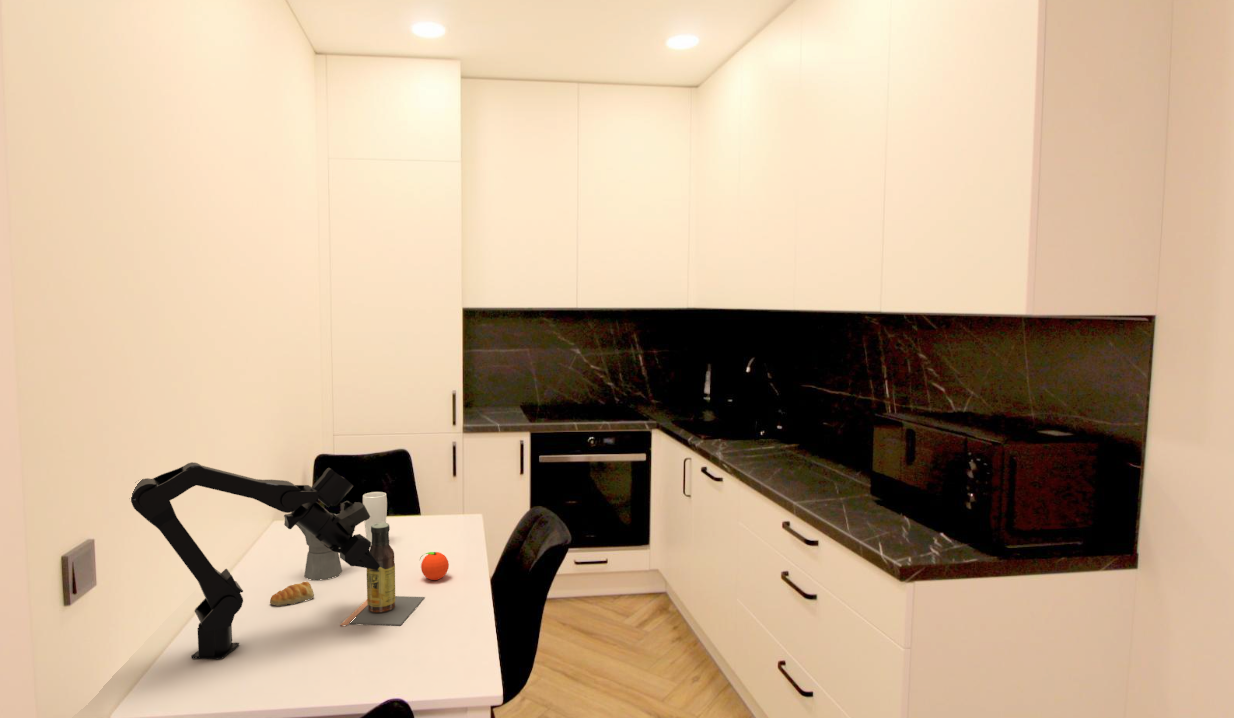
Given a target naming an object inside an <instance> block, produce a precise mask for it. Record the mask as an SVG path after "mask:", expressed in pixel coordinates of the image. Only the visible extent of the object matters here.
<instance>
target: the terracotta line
mask: <svg viewBox="0 0 1234 718" xmlns="http://www.w3.org/2000/svg"><path fill="white" fill-rule="evenodd" d="M367 606H368V603H367V599H366V600H364V602H362V603H361V604H360V605H359V606H358V607H357V608H356V609H355V610H354V611H353V612H352V613H351V614H350V615H349V616H348V617H347V618H346V619H344V621H343V622H341V623H340V625H348V624H349V623H350V622H351V621H352V620H353V619H354V618H355V617H357V616H358V615H359V614H360V613H361V612H362V611H363V610H364V609H365V608H366V607H367ZM349 625H350V624H349ZM349 625H348V626H349Z"/></svg>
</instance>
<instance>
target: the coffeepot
mask: <svg viewBox="0 0 1234 718" xmlns="http://www.w3.org/2000/svg"><path fill="white" fill-rule="evenodd" d="M322 507H323V508H325V506H322ZM325 509H326V508H325ZM333 514H334V515H335V516H337V515H338V514H339V513H337V514H336V513H333ZM294 526H297V527H298V528H299V530H300V531H301V533H302V534H303V536H304V538H305V543H306V545H307V546H308V551H307V555H306V562H305V569H304V577H305V578H306V579H307V578H308V579H307V580H309V579H311V580H310V581H321V580H320V579H327V580H329V579H328V578H331V579H333V578H332V577H334V578H336V577H335V576H337V577H338V576H340V575H341V574H342V572H343V568H342V563H341V560H340V559H341V558H340V553H337V552H334V551H332V550H331V549H329V548H327V547H326V546H325V545H323V544H322V543H321V542H320V540H318V539H317V538H316V537H314V536H313V535H312V534H311V533H309V532H308V531H307V530H305V529H304V528H303V527H301V526H300V525H299V524H297V523H296V524H295V525H294ZM352 528H353V529H354V530H355V531H356V526H355V527H352ZM355 531H354V532H355ZM354 532H353V533H352V534H351V536H352V537H353V535H354ZM340 573H341V574H340ZM339 574H340V575H339Z"/></svg>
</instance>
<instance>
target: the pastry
mask: <svg viewBox="0 0 1234 718" xmlns="http://www.w3.org/2000/svg"><path fill="white" fill-rule="evenodd" d="M311 585H312V584H311V583H310V582H308V581H302V582H301V583H294V584H290V585H288V586H287V587H285V588H284V589H282V590H279V591H278V592H276V593H274V594H273V595H271V597H270V600H269V601H270V602H269V604H271V605H272V606H273V605H274V606H277V607H282V606H281V605H284V606H288V605H287V604H293V605H295V604H294V603H296V604H298V603H297V602H301V601H305V600H308V599H311V598H314V597H315V593H314V590H313V588H312V586H311ZM311 600H312V599H311ZM308 601H309V600H308ZM305 602H306V601H305ZM301 603H302V602H301Z"/></svg>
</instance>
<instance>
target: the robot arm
mask: <svg viewBox="0 0 1234 718" xmlns="http://www.w3.org/2000/svg"><path fill="white" fill-rule="evenodd" d="M141 479H142V480H141ZM141 479H140V480H141V481H140V482H139V483H138V484H137V486H136V487H135V489H134V491H133V493H132V497H131V501H130V502H131V505H132V507H133V509H134V510H135V511H136V512H137V513H138V514H139V515H141V516H142V517H143V518H144V519H145V520H146V521H148V523H150V524H151V525H153V526H154V527H155V528H157V529H158V530H159V532H160V533H161V534H162V535H163V536H164V538H165V539H166V541H167V542H168V544H169V545H170V546H171V547H172V549H173V550H174V551H175V553H176V554H177V555H178V557H179V558H180V559H181V560H182V563H184V565H185V566H186V567H187V569H188V570H189V571H190V573H191V574H192V575H193V577H194V578H195V579H196V581H197V582H198V585H199V588H200V590H201V591H202V594H203V596H204V599H203V600H202V601H201V602H200V604H199V605H198V606H197V607H195V609H194V613H195V614H196V616H197V618H198V621H199V623H198V624H197V625H198V627H197V646H198V649H197V651H195V652H194V653H193V654H191V655H190V656H191V657H190V658H191V659H200V660H201V659H202V660H203V659H205V660H206V659H207V660H209V659H210V660H221V659H224V658H225V657H227V655H229V654H230V653H232V652H233V651H234V650H235V649H236V648H238V647H239V646H240V642H233V629H232V628H233V627H232V625H233V621H234V619H235V615H236V614H238V612H239V611H240V610H241V608H242V607H243V603H244V598H243V595H242V594H241V593H244V590H243V588H242V587H241V586H240V584H239V583H238V582H237V581H236V580H235V579H234V577H233V575H232V573H230V571H229V570H228V569H227V568H225V569H224V570H223V571H221V572H220V571H219V569H217V568H215V567H214V566H213V564H212V563H211V561H210V560H209V559H208V558H207V556H206V555H205V554H204V552H203V551H202V550H201V548H200V547H199V545H198V544H197V542H195V540H194V538H193V537H192V536H191V534H190V533H189V532H188V530H187V529H186V527H184V525H183V524H182V522H181V521H180V519H179V518H178V516H177V515H176V512H175V510H174V507H173V505H172V502H171V501H172V500H174V499H176V498H178V497H179V496H181V495H182V494H184V493H185V492H187V491H188V490H189V489H191V488H193V487H196V486H198V487H203V488H206V489H207V488H208V489H212V490H215V491H218V492H224V493H227V494H232V495H236V496H241V497H244V498H249V499H253V500H255V501H258V502H260V503H262V504H264V505H266V506H269V507H270V508H272V509H275V510H278V511H280V512H282V513H285V514H284V515H283V518H284V524H283V525H284V527H286V528H287V529H288V530H292V528H294V526H296V525H295V524H296V523H297V524H299V525H300V526H301V527H303V528H304V529H305V530H307V531H308V532H309V533H311V534H312V535H313V536H314V537H316V538H317V539H318V540H320V542H321V543H322V544H323V545H325V546H326V547H327V548H329V549H331V550H332V551H334V552H337V553H338V554H339V558H340V559H341V560H342V561H344V562H345V563H346V564H347V565H349V566H350V567H359V568H363V569H367V568H369V569H374V570H378V569H379V567H380V565H379V564H378V562H377V561H376V560H375V558H374V557H373V556H372V554H371V553H370V548H371V547H370V546H371V542H370V541H369V540H368V539H366V536H363V535H362V534H361V533H357V534H354V533H353V532H355V531H356V529H355V530H354V529H353V528H352V527H355V528H356V527H357V526H358V525H360V524H361V523H363V522H364V520H368V519H369V518H370V515H369V513H368V511H367V509H366V507H365V505H364V504H363V502H360V501H358V502H356V501H355V502H354V503H352V502H350V501H349V500H346V501H344V502H342V503H341V505H340V506H341V509H340V510H339V513H337V514H338V515H337V514H336V515H337V516H335V515H334V514H335V513H333V512H329V511H328V509H326V508H323V507H324V506H322V505H321V504H320V503H319V502H317V501H320V502H321V503H322V504H323V505H325V506H326V507H328V508H329V507H330V506H331V507H334V506H335V507H337V506H338V504H339V503H340V502H341V501H342V500H343V499H344V498H345V497H346V496H347V494H349V492H350V491H351V490H352V488H353V487H354V485H353V484H352V483H351V482H350V481H349V480H348V479H347V478H345V477H343V476H342V475H340V474H339V473H337V472H336V471H334V470H333V469H332V468H330V467H328V468H326V469H325V470H324V471H323V472H322V475H321V476H320V477H319V478H318V480H317V481H315V483H314V484H313V485H311V486H310V485H309V484H294V483H293V482H291V481H288V480H281V479H280V480H279V479H258V478H257V479H256V478H253V477H250V476H249V477H248V476H244V475H242V474H237V473H232V472H229V471H226V470H221V469H217V468H213V467H209V466H205V465H202V464H200V463H198V462H187V463H186V464H185V465H183V466H180V467H179V468H178V467H177V468H175V469H173V470H170V471H168V472H164V473H162V474H160V475H158V476H155V477H152V478H148V477H147V478H141ZM352 533H353V536H351V534H352Z"/></svg>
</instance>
